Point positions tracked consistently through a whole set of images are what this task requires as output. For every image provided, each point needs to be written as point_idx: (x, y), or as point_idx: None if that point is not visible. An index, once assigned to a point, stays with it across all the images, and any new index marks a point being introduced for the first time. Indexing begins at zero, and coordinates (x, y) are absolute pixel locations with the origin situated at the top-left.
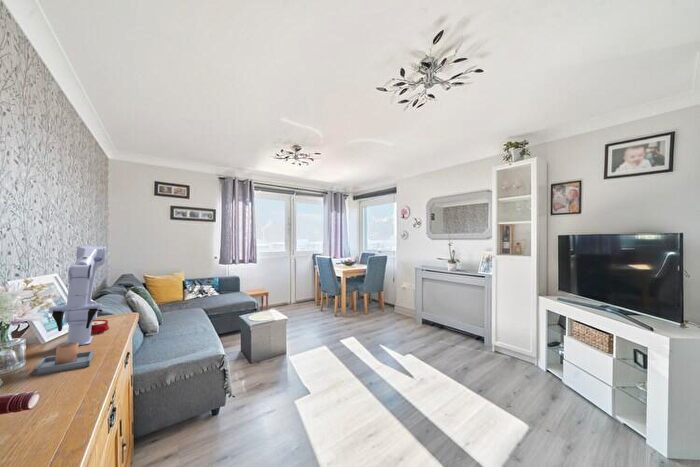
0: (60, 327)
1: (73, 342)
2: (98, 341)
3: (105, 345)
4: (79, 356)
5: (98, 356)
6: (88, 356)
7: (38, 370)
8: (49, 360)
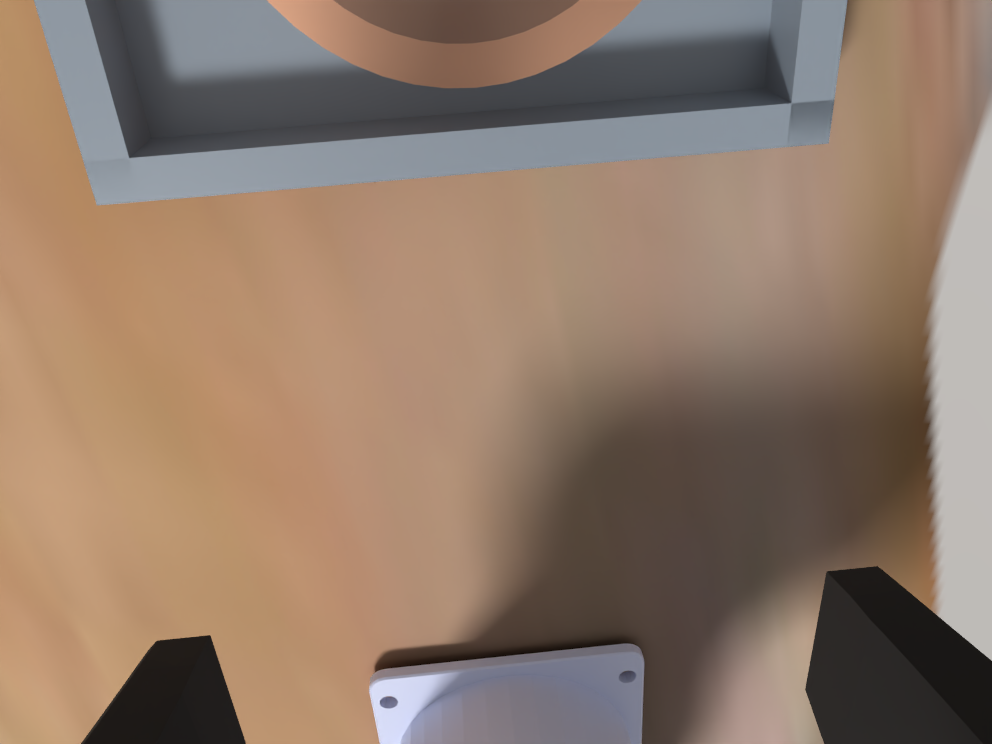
0: (905, 651)
1: (378, 53)
2: (296, 733)
3: (138, 576)
4: (310, 123)
5: (16, 89)
6: (158, 76)
7: None
8: (717, 94)
